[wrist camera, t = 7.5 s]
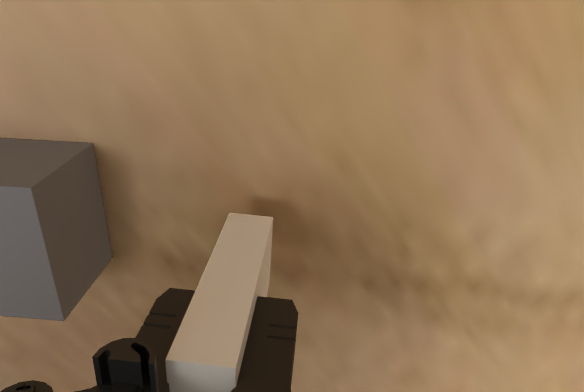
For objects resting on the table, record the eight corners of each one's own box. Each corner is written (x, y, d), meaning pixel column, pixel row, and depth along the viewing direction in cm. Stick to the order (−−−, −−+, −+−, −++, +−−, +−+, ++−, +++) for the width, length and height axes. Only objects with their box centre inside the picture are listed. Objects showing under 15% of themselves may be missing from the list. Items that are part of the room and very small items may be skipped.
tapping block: (-1, 247, 19) (-77, 309, 16) (-35, 134, 17) (-132, 177, 14) (114, 255, 19) (63, 320, 16) (94, 141, 17) (31, 188, 13)
